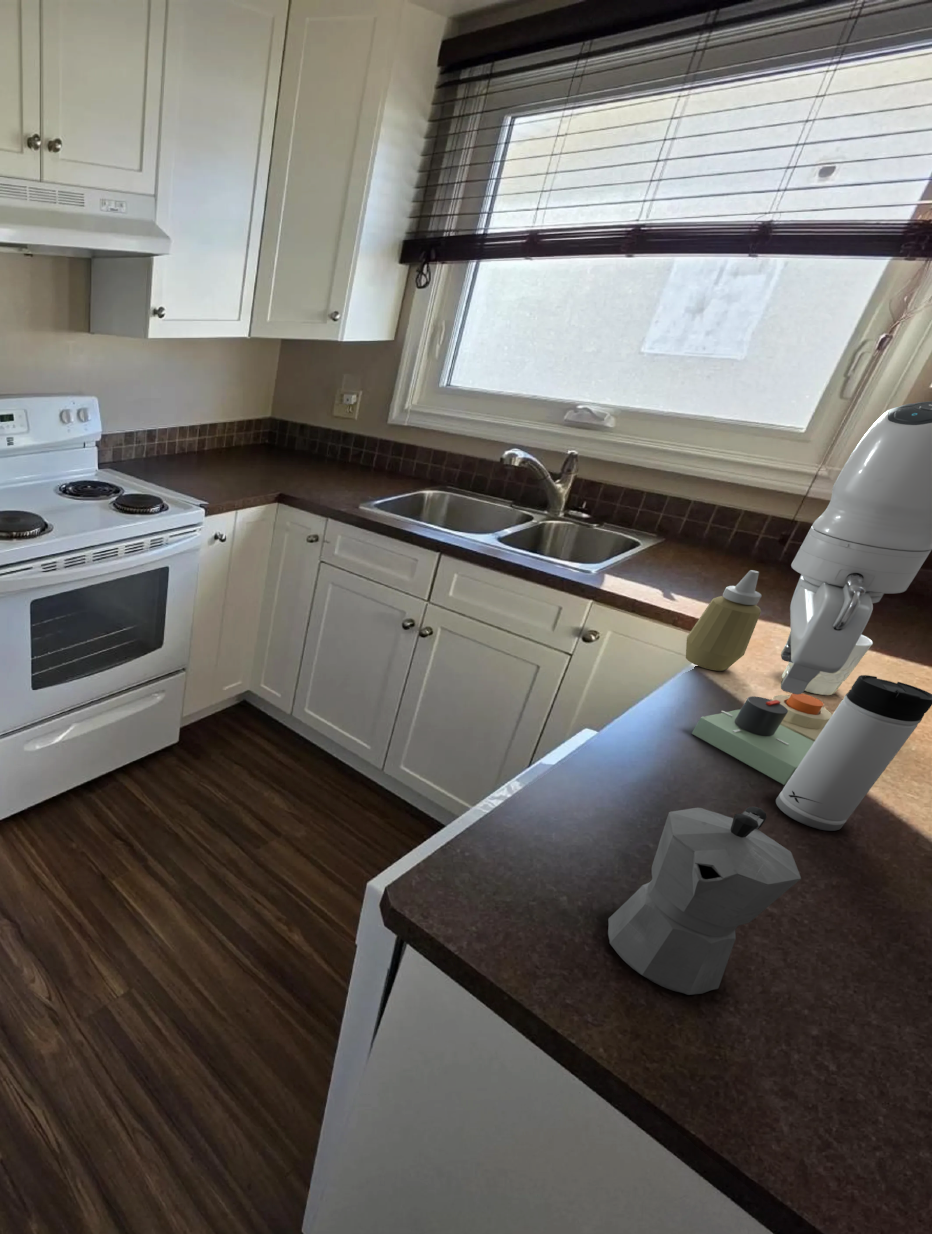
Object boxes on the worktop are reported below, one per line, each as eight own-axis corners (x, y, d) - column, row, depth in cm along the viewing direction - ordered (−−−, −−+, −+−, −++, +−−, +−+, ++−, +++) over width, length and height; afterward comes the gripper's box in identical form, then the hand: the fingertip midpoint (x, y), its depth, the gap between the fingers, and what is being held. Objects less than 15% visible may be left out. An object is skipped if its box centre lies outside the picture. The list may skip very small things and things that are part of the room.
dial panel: (831, 772, 94) (843, 754, 93) (783, 784, 92) (796, 766, 90) (734, 722, 105) (744, 705, 103) (689, 732, 102) (699, 715, 100)
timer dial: (760, 738, 96) (776, 713, 94) (726, 721, 100) (741, 696, 98) (781, 733, 97) (796, 709, 95) (747, 716, 101) (761, 692, 99)
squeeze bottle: (672, 661, 122) (718, 569, 114) (683, 648, 127) (729, 558, 118) (728, 680, 117) (782, 584, 108) (738, 665, 121) (790, 573, 113)
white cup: (773, 682, 116) (804, 631, 112) (780, 668, 121) (809, 618, 116) (837, 703, 111) (871, 650, 106) (840, 687, 116) (874, 635, 111)
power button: (823, 713, 101) (829, 704, 100) (807, 717, 100) (813, 707, 99) (795, 700, 104) (801, 691, 104) (779, 704, 103) (785, 694, 102)
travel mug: (780, 819, 85) (871, 686, 76) (770, 791, 90) (854, 662, 81) (847, 840, 82) (951, 705, 73) (833, 810, 87) (928, 679, 78)
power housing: (860, 748, 100) (875, 726, 98) (821, 758, 97) (836, 736, 95) (774, 708, 109) (787, 687, 107) (736, 716, 106) (749, 694, 105)
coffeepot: (692, 1028, 60) (797, 886, 52) (578, 950, 67) (655, 813, 59) (747, 946, 68) (846, 812, 60) (640, 884, 75) (716, 755, 67)
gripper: (909, 600, 63) (831, 723, 69) (887, 547, 76) (824, 653, 82) (816, 581, 66) (750, 699, 73) (811, 533, 80) (755, 636, 86)
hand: (789, 674), depth 78 cm, fingers open, 8 cm apart
